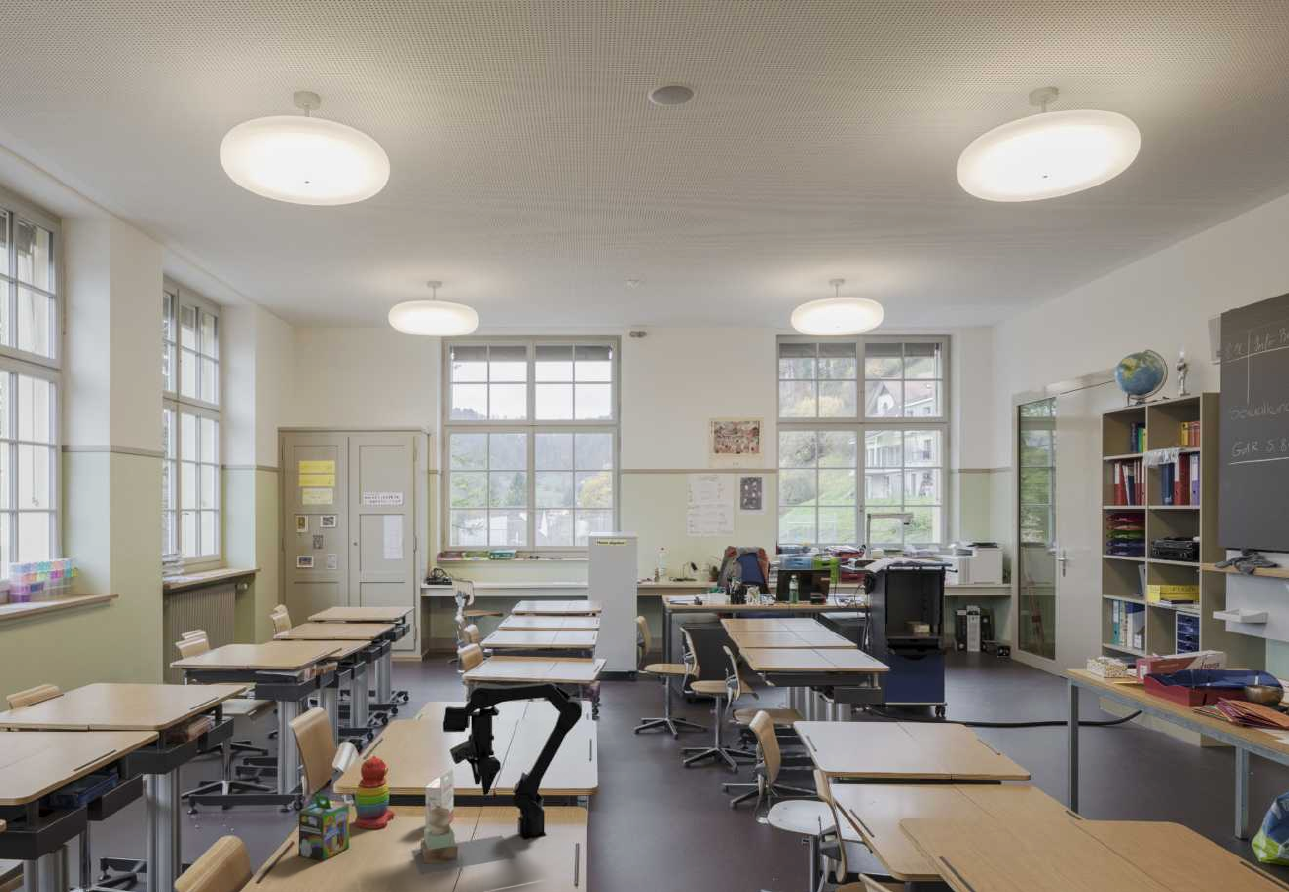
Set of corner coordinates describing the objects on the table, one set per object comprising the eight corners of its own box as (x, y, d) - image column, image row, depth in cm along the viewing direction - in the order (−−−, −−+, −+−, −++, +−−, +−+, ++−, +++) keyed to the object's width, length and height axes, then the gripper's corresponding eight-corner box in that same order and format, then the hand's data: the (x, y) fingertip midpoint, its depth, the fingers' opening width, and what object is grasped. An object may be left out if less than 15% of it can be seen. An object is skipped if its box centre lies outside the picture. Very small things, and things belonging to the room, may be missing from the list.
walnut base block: (451, 847, 217) (451, 835, 217) (457, 858, 209) (457, 846, 210) (420, 852, 213) (420, 840, 214) (425, 864, 206) (425, 852, 206)
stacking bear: (384, 829, 230) (385, 764, 231) (348, 829, 230) (349, 764, 231) (396, 814, 240) (397, 752, 242) (362, 814, 241) (363, 752, 242)
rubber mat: (501, 836, 224) (501, 835, 224) (516, 858, 210) (516, 856, 210) (411, 852, 214) (411, 850, 214) (420, 875, 201) (420, 874, 201)
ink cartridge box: (437, 818, 238) (438, 766, 239) (453, 819, 237) (454, 767, 238) (424, 829, 229) (425, 776, 230) (440, 831, 228) (441, 777, 229)
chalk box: (349, 848, 217) (351, 791, 218) (323, 862, 209) (324, 802, 210) (324, 842, 221) (325, 786, 222) (296, 855, 213) (298, 797, 214)
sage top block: (449, 836, 216) (449, 825, 216) (454, 846, 210) (454, 834, 210) (424, 841, 213) (424, 829, 213) (428, 850, 207) (428, 838, 207)
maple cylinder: (447, 826, 215) (447, 807, 215) (450, 833, 210) (451, 813, 211) (427, 829, 213) (428, 810, 213) (430, 836, 208) (431, 816, 209)
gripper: (445, 726, 232) (445, 783, 231) (459, 744, 215) (458, 805, 214) (484, 722, 236) (484, 777, 235) (501, 738, 219) (500, 798, 218)
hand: (481, 789), depth 226 cm, fingers open, 9 cm apart
